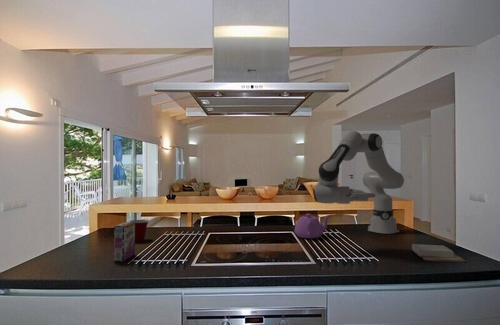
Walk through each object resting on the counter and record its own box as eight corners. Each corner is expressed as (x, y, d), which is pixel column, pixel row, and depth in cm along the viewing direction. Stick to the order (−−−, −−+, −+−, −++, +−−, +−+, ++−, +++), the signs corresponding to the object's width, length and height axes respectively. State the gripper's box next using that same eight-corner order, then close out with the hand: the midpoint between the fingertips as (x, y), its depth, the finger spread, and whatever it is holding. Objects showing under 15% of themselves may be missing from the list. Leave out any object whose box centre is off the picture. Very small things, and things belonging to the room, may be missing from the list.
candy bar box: (123, 262, 130) (123, 226, 130) (113, 261, 130) (113, 225, 131) (135, 254, 141) (135, 221, 141) (125, 254, 142) (125, 221, 142)
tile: (411, 244, 141) (443, 245, 138) (412, 250, 141) (443, 251, 138) (419, 249, 131) (453, 251, 128) (419, 256, 131) (453, 258, 128)
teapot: (333, 241, 162) (332, 217, 162) (294, 240, 165) (294, 216, 165) (328, 233, 183) (328, 211, 184) (294, 232, 187) (294, 211, 187)
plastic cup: (152, 240, 170) (152, 219, 170) (135, 243, 161) (135, 222, 162) (142, 237, 176) (142, 218, 177) (126, 241, 168) (125, 220, 168)
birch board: (412, 250, 144) (412, 248, 144) (448, 251, 140) (448, 250, 140) (424, 260, 128) (424, 258, 128) (465, 262, 125) (465, 260, 125)
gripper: (347, 190, 136) (379, 190, 132) (343, 187, 155) (370, 187, 152) (348, 203, 135) (379, 204, 132) (343, 199, 155) (370, 199, 152)
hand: (374, 195), depth 143 cm, fingers closed
